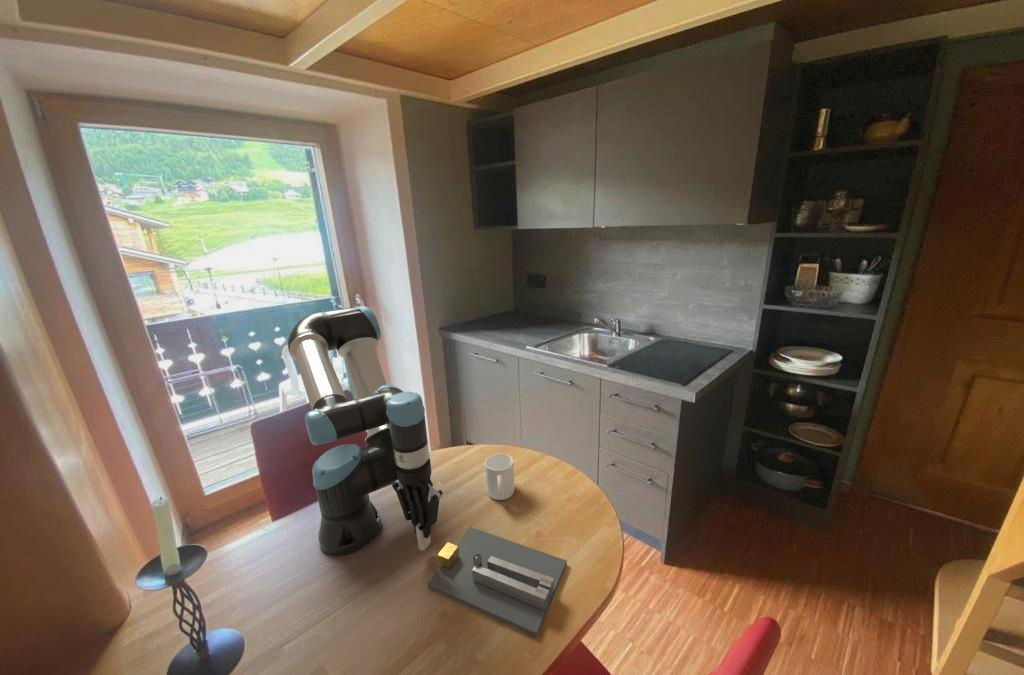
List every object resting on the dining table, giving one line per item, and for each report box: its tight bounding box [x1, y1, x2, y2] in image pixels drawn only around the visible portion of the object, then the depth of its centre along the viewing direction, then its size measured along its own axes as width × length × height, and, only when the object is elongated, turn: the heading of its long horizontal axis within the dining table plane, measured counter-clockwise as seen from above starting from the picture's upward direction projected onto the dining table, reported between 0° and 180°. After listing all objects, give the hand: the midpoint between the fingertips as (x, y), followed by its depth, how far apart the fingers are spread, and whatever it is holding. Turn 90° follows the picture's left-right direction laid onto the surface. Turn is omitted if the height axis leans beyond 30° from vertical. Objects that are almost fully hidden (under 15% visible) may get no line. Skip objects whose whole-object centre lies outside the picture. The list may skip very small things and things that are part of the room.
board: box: [426, 526, 568, 638], centre depth 88 cm, size 26×18×1 cm
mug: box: [484, 452, 516, 501], centre depth 112 cm, size 12×8×10 cm
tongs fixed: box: [472, 554, 549, 611], centre depth 83 cm, size 18×3×4 cm, turn 64°
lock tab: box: [437, 541, 459, 569], centre depth 91 cm, size 3×4×3 cm
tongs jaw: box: [487, 556, 554, 598], centre depth 84 cm, size 15×2×3 cm, turn 65°
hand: (424, 545), depth 94 cm, fingers closed
